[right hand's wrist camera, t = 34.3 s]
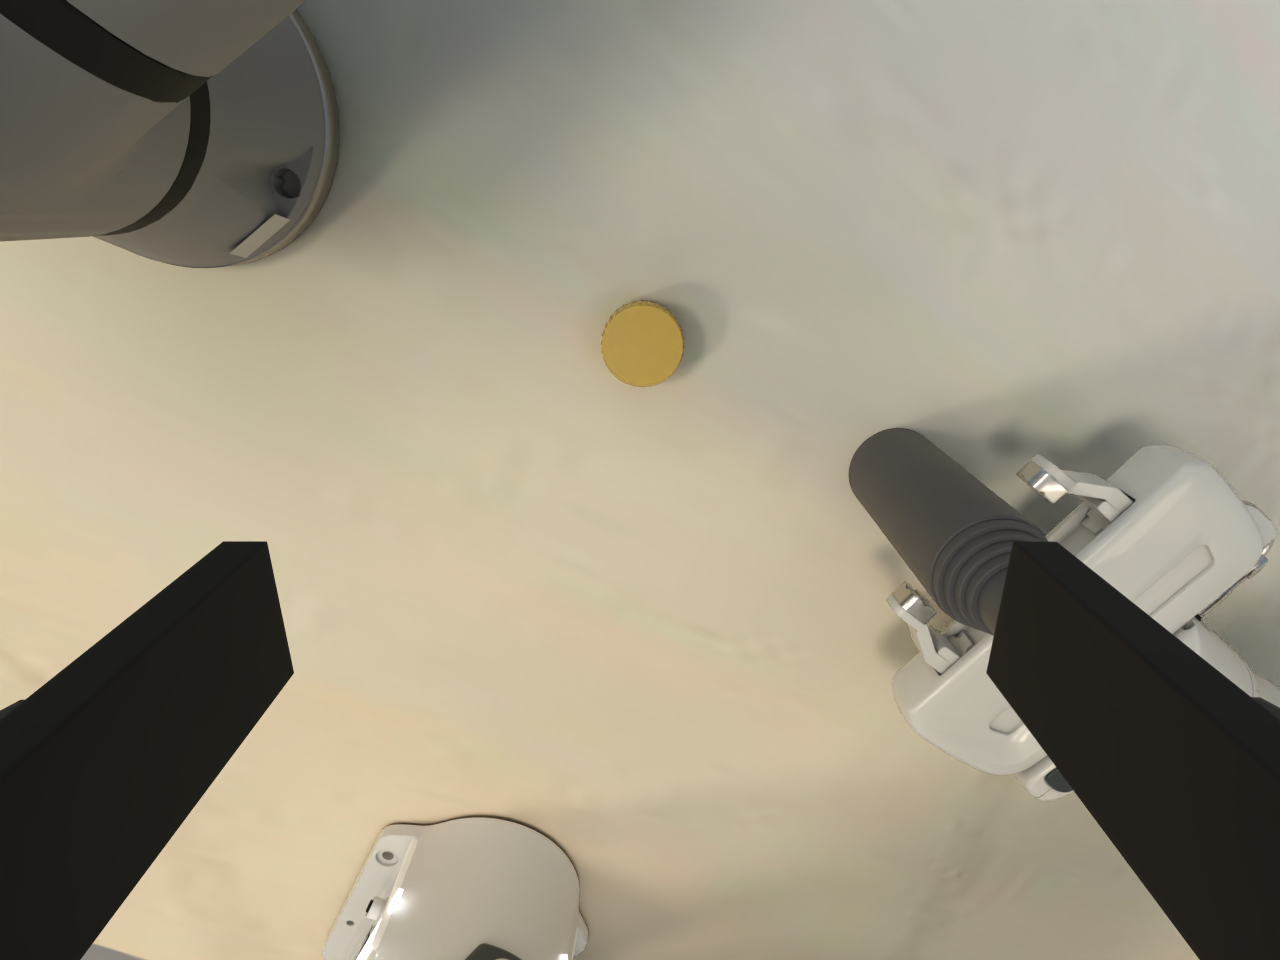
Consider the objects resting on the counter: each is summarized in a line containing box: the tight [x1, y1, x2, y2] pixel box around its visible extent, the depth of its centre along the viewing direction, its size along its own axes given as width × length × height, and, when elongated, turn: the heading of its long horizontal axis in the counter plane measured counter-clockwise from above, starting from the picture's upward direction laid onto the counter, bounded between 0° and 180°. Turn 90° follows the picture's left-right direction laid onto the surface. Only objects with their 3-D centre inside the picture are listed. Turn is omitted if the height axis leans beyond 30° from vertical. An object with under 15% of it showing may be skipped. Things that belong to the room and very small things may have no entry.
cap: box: [601, 300, 684, 387], centre depth 40 cm, size 4×4×2 cm
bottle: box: [849, 429, 1049, 636], centre depth 35 cm, size 5×5×18 cm
